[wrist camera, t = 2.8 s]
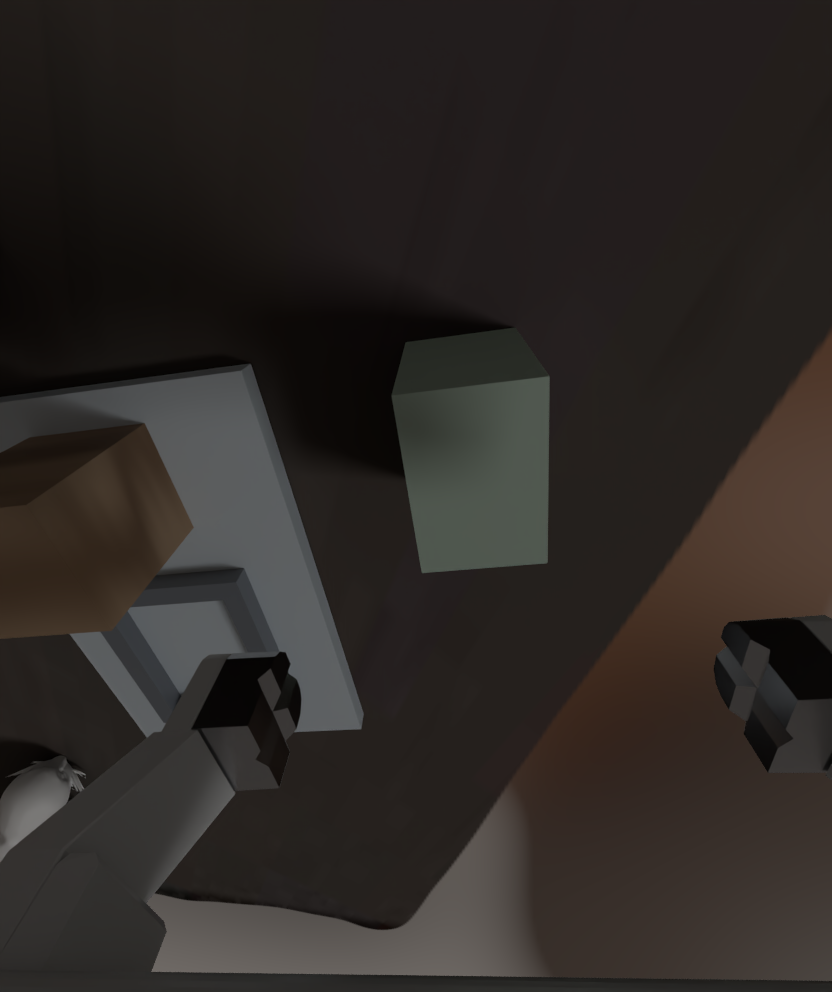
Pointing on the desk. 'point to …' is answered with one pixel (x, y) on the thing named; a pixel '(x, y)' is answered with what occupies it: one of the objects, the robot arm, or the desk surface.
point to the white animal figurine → (34, 799)
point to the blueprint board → (224, 536)
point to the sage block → (475, 449)
